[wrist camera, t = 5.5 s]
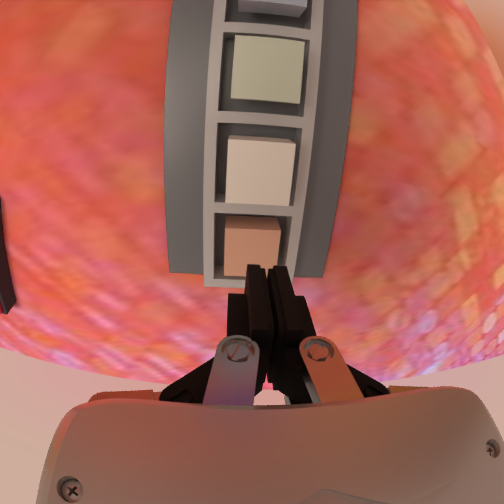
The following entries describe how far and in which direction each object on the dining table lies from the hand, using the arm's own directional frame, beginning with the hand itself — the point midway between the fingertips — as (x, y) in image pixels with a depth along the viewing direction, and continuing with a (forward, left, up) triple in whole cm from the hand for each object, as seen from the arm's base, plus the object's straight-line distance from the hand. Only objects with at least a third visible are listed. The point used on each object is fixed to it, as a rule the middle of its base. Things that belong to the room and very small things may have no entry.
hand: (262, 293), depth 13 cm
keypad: (-7, 0, -13) cm, 14 cm away
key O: (-3, 0, -10) cm, 10 cm away
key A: (-10, 0, -10) cm, 14 cm away
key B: (+3, 0, -11) cm, 12 cm away
